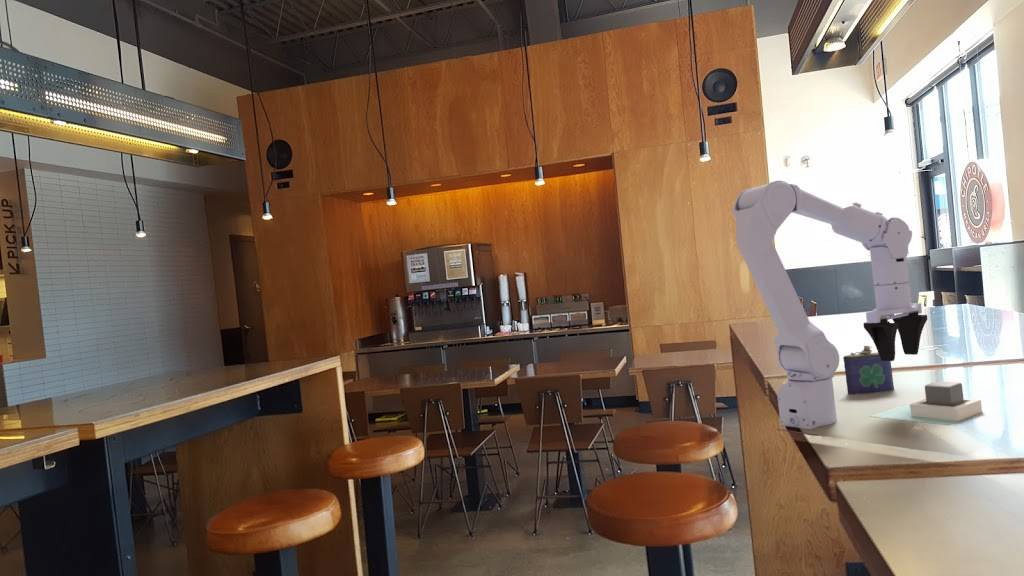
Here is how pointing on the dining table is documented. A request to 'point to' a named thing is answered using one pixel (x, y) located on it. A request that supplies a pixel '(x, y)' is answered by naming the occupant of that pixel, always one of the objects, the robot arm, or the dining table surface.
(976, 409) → the socket
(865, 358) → the flask
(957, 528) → the dining table surface
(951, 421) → the translucent flat sheet
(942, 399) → the grey block
